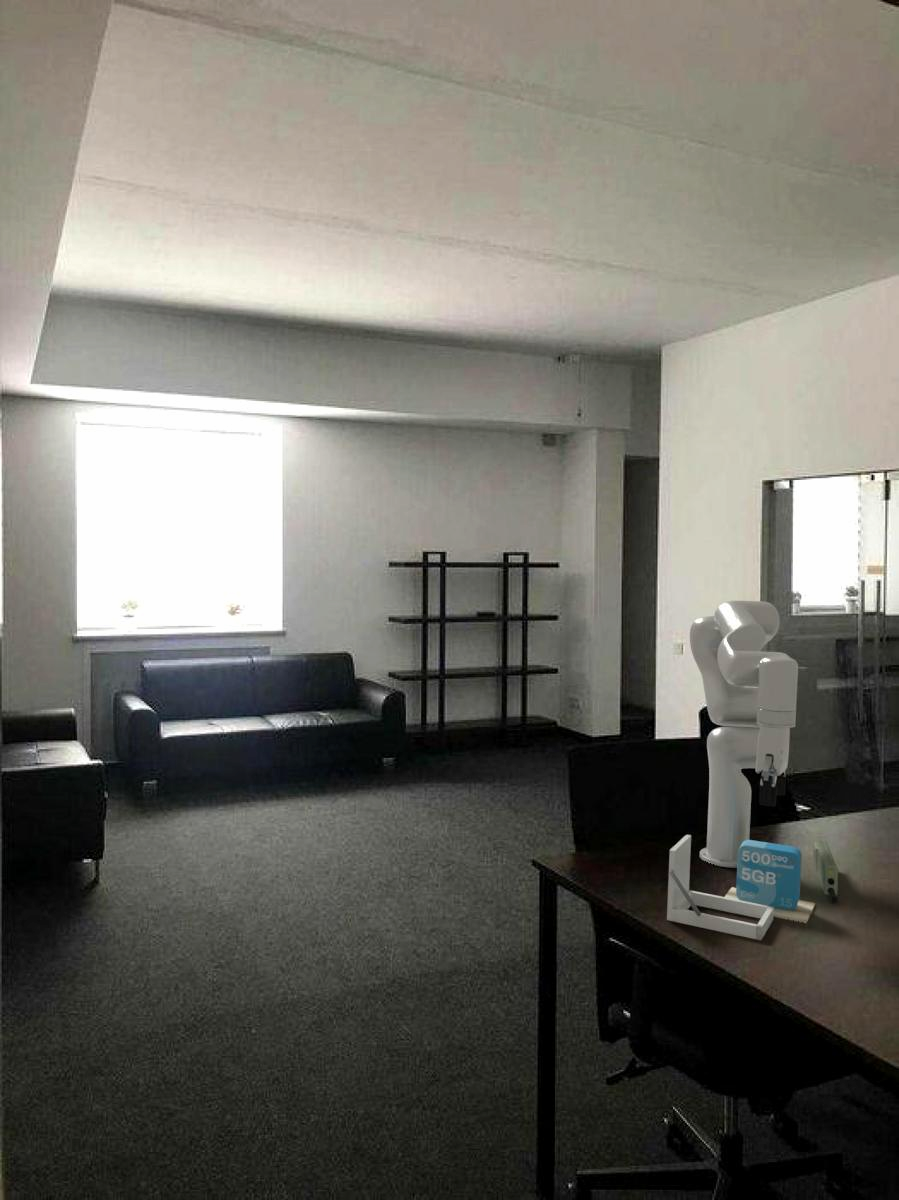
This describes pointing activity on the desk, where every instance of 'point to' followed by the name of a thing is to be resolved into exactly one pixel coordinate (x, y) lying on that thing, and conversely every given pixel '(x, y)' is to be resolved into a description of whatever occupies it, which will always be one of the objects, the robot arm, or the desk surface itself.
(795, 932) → the desk surface
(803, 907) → the birch board
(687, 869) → the stand
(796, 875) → the data package
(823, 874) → the handheld radio
